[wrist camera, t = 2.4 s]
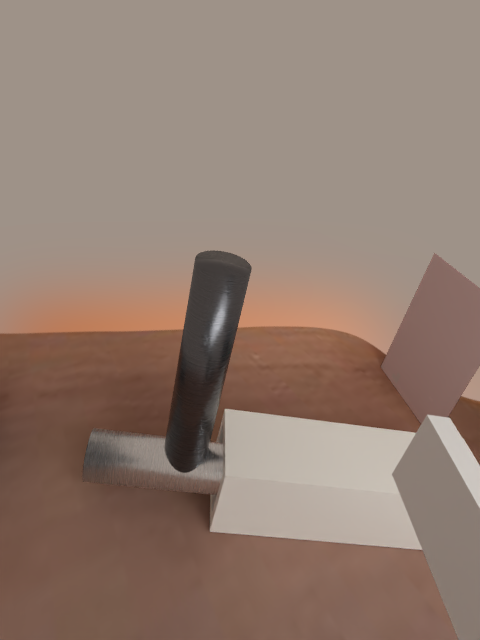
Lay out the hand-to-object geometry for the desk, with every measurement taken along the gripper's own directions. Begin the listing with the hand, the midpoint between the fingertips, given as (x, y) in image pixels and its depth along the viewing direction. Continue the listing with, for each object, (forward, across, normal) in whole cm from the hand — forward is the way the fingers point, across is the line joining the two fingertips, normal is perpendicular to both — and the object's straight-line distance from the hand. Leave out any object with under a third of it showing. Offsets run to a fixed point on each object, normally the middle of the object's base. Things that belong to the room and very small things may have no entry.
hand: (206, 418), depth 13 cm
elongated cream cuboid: (+12, +12, -19) cm, 26 cm away
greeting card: (+27, +26, -19) cm, 42 cm away
